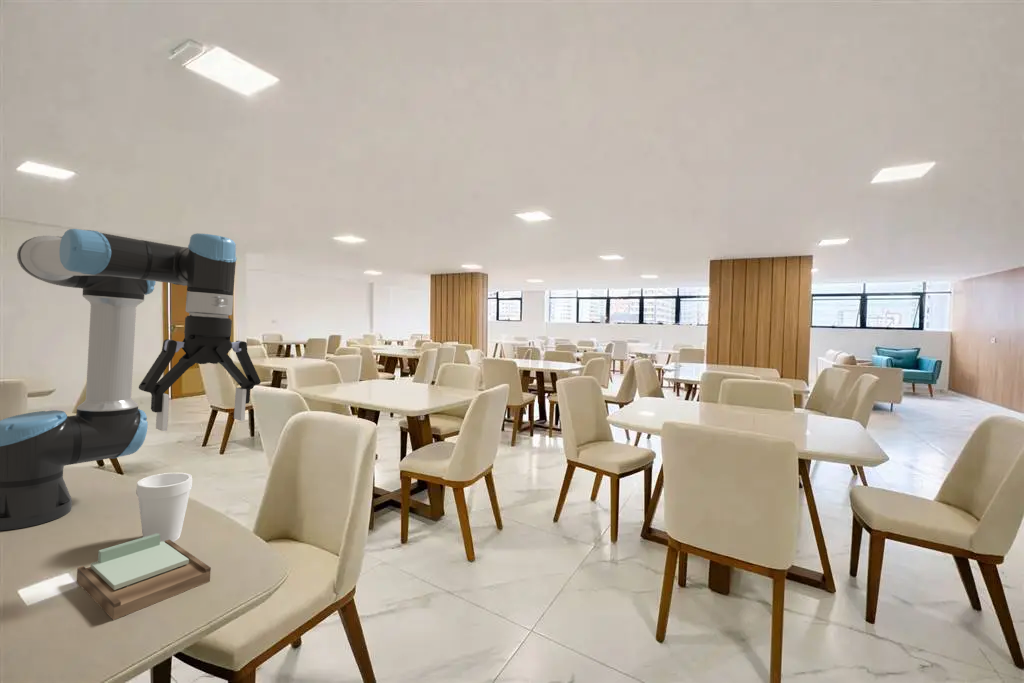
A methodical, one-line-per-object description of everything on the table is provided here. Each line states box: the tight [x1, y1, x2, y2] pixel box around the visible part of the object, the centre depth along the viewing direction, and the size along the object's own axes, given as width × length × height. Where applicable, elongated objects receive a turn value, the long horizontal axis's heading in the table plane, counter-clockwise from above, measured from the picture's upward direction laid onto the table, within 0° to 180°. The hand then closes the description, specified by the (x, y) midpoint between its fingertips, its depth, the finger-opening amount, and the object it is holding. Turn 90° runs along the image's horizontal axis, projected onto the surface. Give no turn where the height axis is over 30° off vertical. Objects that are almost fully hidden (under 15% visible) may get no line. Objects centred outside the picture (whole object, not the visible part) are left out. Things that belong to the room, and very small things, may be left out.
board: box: [76, 539, 212, 621], centre depth 81 cm, size 17×14×3 cm
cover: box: [89, 533, 189, 591], centre depth 82 cm, size 11×11×3 cm
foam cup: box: [136, 472, 193, 543], centre depth 96 cm, size 10×9×13 cm
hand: (202, 424), depth 87 cm, fingers open, 13 cm apart
